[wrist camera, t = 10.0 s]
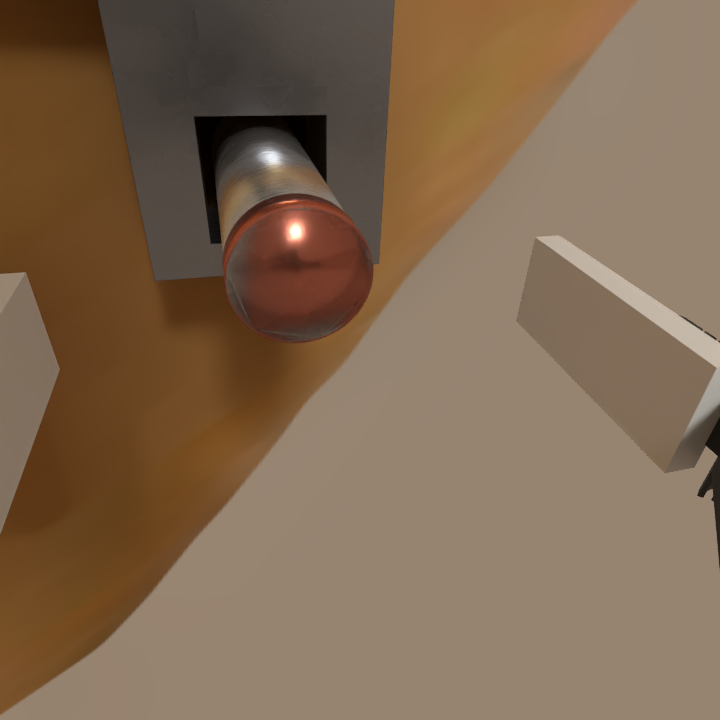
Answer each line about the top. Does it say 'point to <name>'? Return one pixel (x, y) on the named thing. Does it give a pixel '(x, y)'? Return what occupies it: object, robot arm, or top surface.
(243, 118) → the cylinder
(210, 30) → the socket block
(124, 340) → the top surface
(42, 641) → the top surface
